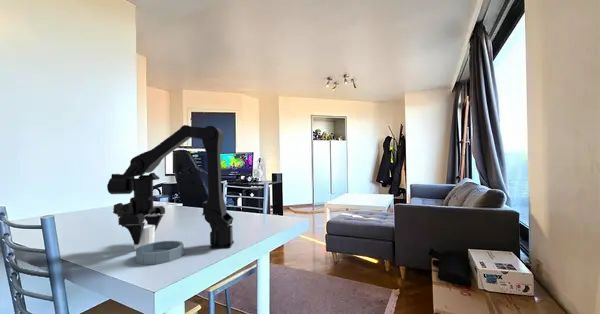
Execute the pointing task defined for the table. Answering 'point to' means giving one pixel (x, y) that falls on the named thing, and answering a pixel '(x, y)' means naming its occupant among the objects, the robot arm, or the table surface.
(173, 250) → the bowl
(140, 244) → the shot glass
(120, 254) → the table surface
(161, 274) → the table surface
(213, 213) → the robot arm
